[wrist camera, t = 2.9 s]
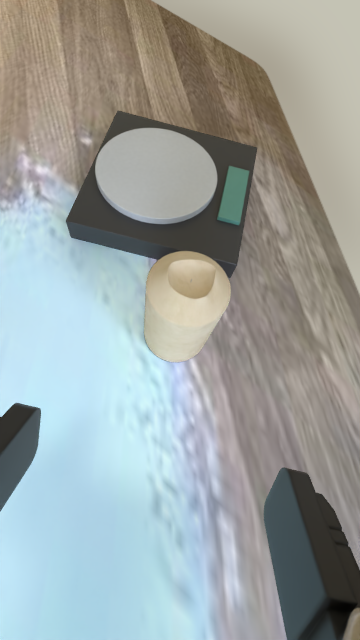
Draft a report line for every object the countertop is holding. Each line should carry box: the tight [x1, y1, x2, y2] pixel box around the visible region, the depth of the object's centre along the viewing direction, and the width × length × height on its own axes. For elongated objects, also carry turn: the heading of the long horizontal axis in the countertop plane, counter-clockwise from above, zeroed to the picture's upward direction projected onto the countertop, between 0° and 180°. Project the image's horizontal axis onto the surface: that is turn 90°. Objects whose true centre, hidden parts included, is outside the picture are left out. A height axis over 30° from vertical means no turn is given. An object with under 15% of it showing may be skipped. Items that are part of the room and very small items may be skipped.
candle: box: [144, 251, 231, 362], centre depth 24 cm, size 6×6×10 cm
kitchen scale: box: [66, 111, 257, 278], centre depth 33 cm, size 16×16×3 cm
